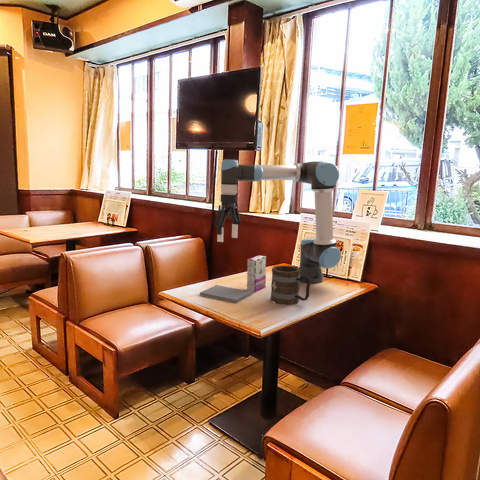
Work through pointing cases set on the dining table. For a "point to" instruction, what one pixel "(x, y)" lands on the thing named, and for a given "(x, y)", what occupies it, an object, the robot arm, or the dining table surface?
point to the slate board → (226, 293)
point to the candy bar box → (256, 273)
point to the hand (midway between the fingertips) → (227, 239)
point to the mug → (287, 285)
